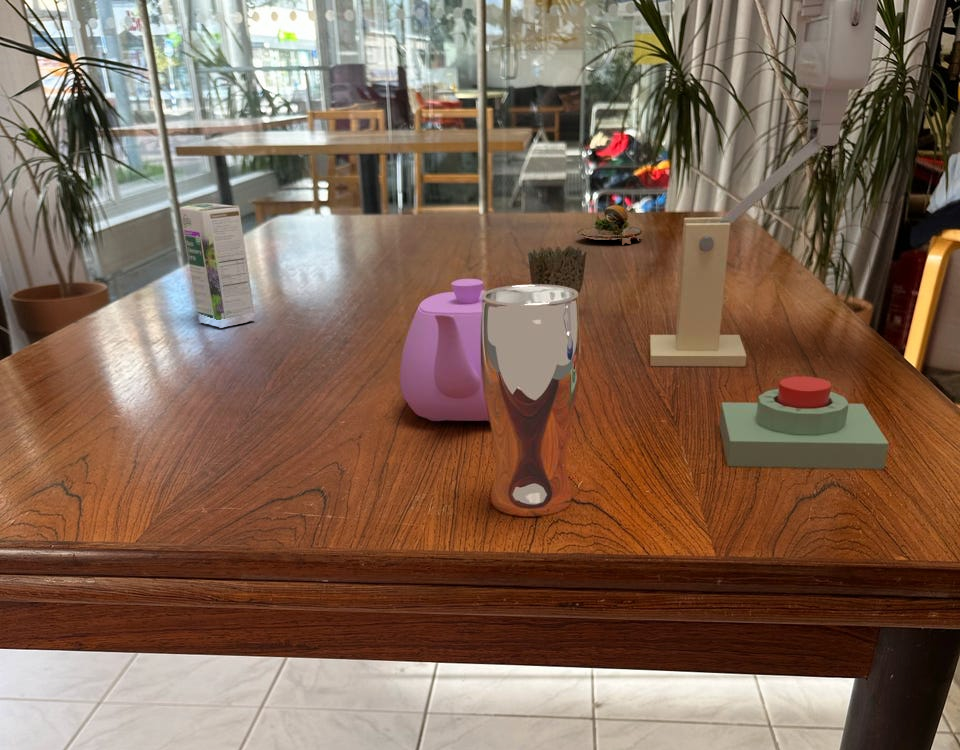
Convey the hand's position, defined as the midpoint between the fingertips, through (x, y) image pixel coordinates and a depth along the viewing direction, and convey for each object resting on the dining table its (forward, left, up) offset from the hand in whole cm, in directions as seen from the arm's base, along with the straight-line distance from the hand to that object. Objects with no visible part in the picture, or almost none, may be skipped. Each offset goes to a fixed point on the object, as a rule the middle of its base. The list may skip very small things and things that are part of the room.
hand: (821, 142), depth 92 cm
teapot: (+32, +21, -21) cm, 44 cm away
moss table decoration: (+22, -80, -21) cm, 86 cm away
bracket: (+10, 0, -21) cm, 23 cm away
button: (+3, +29, -17) cm, 34 cm away
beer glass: (+24, +42, -21) cm, 53 cm away
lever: (+5, 0, -5) cm, 7 cm away
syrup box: (+71, -16, -21) cm, 76 cm away
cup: (+27, -20, -21) cm, 40 cm away
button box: (+3, +29, -21) cm, 36 cm away
